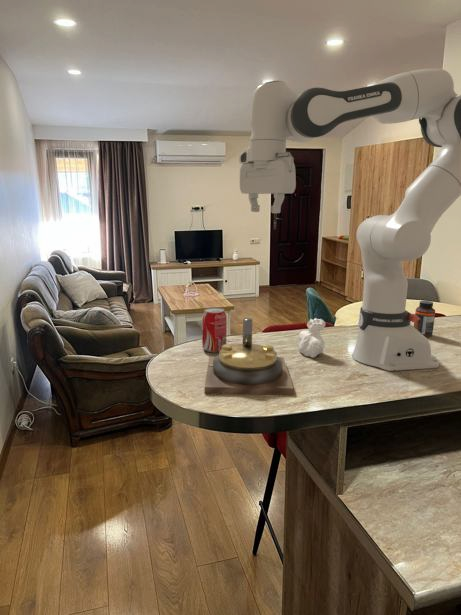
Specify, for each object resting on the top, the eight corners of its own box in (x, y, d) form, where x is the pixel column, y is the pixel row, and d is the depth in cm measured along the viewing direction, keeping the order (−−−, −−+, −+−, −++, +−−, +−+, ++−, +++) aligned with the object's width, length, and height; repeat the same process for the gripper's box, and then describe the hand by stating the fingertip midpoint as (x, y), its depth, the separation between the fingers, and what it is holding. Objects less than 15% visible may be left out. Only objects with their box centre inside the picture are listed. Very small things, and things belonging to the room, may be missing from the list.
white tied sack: (321, 367, 121) (345, 334, 121) (302, 353, 118) (327, 320, 118) (301, 353, 132) (323, 323, 132) (283, 340, 129) (306, 309, 129)
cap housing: (283, 362, 118) (283, 348, 117) (293, 394, 98) (294, 377, 97) (209, 361, 118) (209, 347, 117) (204, 393, 98) (204, 376, 97)
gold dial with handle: (273, 351, 114) (274, 318, 112) (279, 371, 100) (280, 334, 98) (220, 350, 114) (220, 317, 112) (218, 371, 100) (218, 333, 98)
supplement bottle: (409, 332, 147) (412, 299, 144) (426, 332, 147) (430, 299, 145) (418, 338, 141) (422, 303, 138) (436, 337, 142) (440, 303, 139)
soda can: (203, 345, 131) (203, 306, 128) (226, 346, 131) (227, 307, 128) (201, 353, 124) (200, 312, 121) (225, 354, 124) (226, 313, 121)
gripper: (304, 151, 100) (300, 214, 103) (256, 158, 117) (254, 211, 120) (281, 149, 97) (278, 213, 100) (235, 156, 114) (234, 211, 117)
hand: (265, 212), depth 110 cm, fingers open, 8 cm apart
